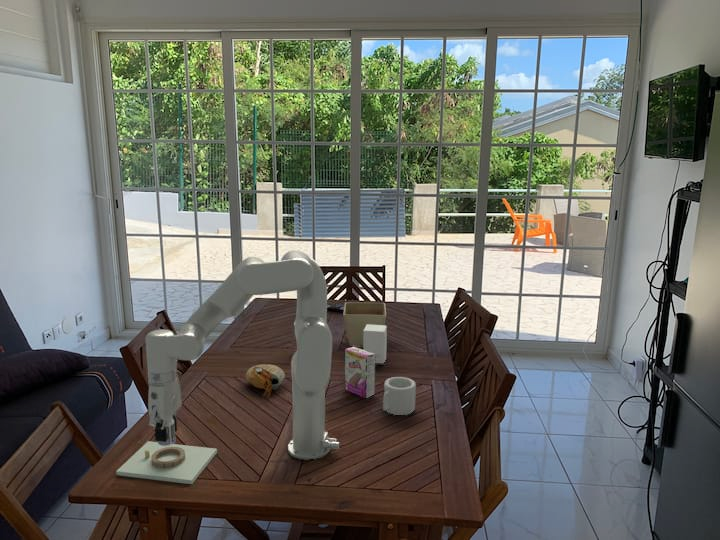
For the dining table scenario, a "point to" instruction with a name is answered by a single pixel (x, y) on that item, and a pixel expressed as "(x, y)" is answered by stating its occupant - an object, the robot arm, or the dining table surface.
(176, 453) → the socket board
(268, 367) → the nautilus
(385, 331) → the supplement box
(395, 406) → the mug
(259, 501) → the dining table surface
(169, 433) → the pill bottle
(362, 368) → the candy bar box
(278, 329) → the dining table surface
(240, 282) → the robot arm
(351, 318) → the flower pot
